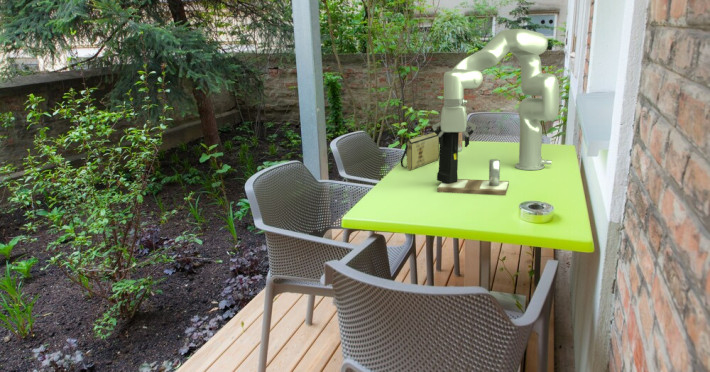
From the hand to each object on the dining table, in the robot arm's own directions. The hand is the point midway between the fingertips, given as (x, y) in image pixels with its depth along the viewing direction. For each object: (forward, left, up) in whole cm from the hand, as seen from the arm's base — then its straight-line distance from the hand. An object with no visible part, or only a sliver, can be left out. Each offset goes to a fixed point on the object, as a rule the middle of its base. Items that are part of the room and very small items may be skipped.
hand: (454, 146), depth 199 cm
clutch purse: (+23, -38, -17) cm, 47 cm away
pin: (-16, 0, -15) cm, 22 cm away
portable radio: (+3, -1, -15) cm, 16 cm away
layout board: (-8, 0, -17) cm, 19 cm away
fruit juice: (+13, -76, -17) cm, 79 cm away
